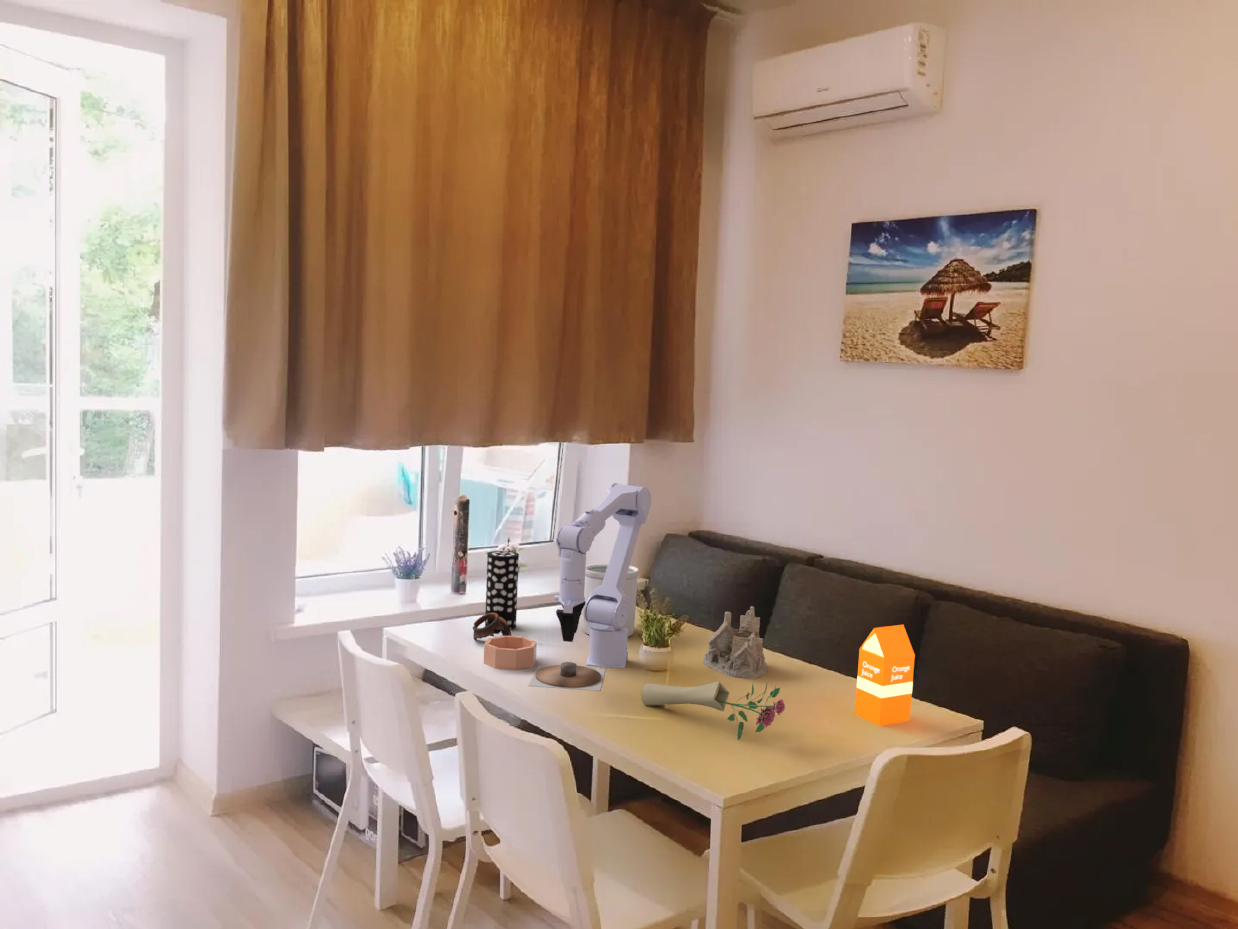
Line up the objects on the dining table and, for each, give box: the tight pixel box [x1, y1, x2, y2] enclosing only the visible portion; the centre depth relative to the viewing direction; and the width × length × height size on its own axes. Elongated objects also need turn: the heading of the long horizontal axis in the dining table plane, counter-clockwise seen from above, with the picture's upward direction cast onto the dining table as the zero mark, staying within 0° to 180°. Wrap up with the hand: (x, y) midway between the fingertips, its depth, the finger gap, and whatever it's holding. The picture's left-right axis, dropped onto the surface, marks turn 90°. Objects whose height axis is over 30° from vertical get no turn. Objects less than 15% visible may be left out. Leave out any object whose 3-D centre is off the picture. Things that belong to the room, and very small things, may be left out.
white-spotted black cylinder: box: [484, 550, 520, 631], centre depth 281 cm, size 8×8×20 cm
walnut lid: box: [535, 661, 601, 688], centre depth 240 cm, size 15×15×3 cm
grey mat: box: [527, 664, 606, 692], centre depth 240 cm, size 16×16×1 cm
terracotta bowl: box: [483, 635, 538, 671], centre depth 249 cm, size 12×12×5 cm
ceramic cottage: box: [702, 605, 768, 680], centre depth 254 cm, size 16×16×15 cm
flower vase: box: [640, 680, 786, 741], centre depth 213 cm, size 12×12×35 cm
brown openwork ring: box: [472, 613, 513, 642], centre depth 269 cm, size 12×10×8 cm
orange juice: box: [854, 624, 916, 727], centre depth 223 cm, size 8×9×20 cm
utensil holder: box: [582, 563, 640, 637], centre depth 281 cm, size 15×15×18 cm
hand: (569, 636), depth 239 cm, fingers open, 7 cm apart
